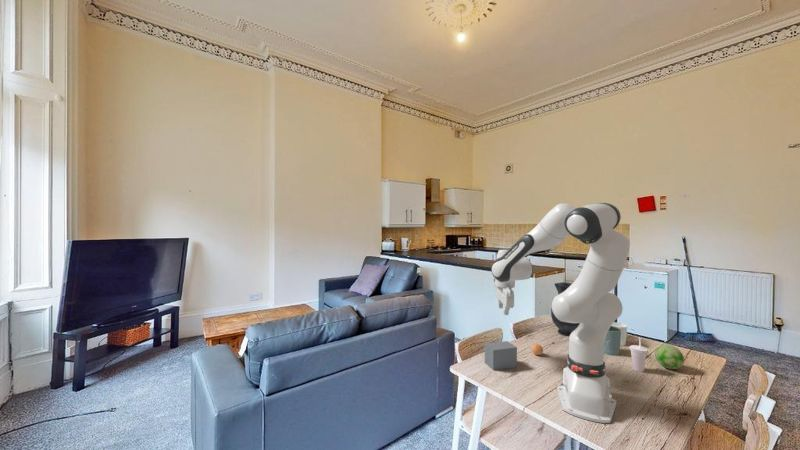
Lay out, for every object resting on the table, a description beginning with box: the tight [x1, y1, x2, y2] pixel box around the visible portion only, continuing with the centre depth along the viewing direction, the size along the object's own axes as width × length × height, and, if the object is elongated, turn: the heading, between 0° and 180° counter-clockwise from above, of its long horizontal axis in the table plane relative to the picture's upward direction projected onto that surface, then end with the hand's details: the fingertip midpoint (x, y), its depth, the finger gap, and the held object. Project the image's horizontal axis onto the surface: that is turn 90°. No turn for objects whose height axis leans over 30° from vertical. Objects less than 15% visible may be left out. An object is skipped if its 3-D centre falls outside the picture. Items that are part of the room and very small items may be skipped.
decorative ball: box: [654, 344, 685, 370], centre depth 138 cm, size 10×10×10 cm
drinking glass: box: [604, 326, 621, 356], centre depth 155 cm, size 10×10×12 cm
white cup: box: [611, 321, 628, 347], centre depth 165 cm, size 8×8×10 cm
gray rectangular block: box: [484, 340, 518, 371], centre depth 141 cm, size 12×7×9 cm, turn 104°
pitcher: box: [550, 281, 580, 337], centre depth 178 cm, size 17×21×30 cm
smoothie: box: [629, 337, 649, 373], centre depth 136 cm, size 6×6×14 cm
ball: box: [531, 343, 544, 356], centre depth 151 cm, size 5×5×5 cm
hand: (503, 311), depth 147 cm, fingers open, 8 cm apart
